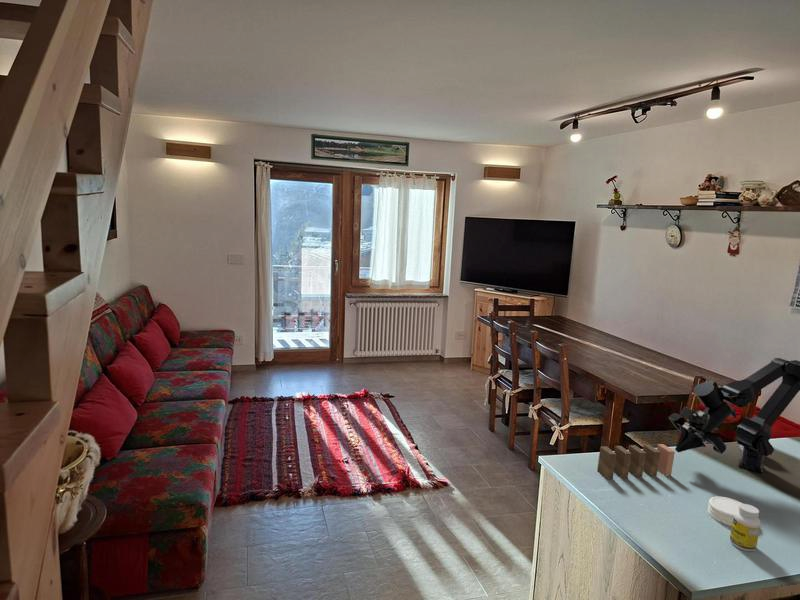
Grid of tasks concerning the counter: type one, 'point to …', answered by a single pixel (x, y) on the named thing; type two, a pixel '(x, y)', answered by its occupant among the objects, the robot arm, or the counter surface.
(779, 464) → the counter surface
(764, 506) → the counter surface
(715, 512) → the white rounded piece
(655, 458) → the walnut domino
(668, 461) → the terracotta domino
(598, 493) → the counter surface
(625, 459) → the walnut domino
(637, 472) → the walnut domino
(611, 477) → the walnut domino
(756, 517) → the supplement bottle
